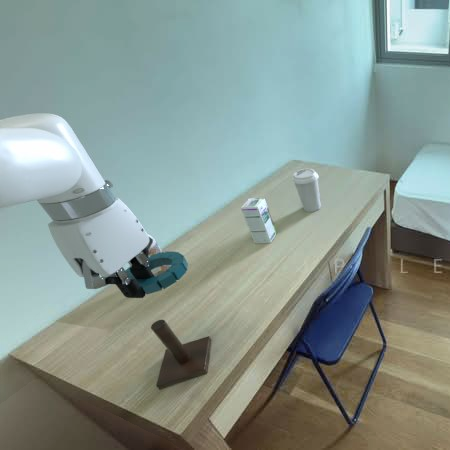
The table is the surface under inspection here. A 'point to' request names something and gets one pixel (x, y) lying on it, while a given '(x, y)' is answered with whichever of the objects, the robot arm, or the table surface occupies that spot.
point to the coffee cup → (307, 189)
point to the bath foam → (154, 250)
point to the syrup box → (259, 220)
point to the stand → (180, 356)
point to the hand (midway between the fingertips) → (142, 289)
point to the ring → (165, 278)
